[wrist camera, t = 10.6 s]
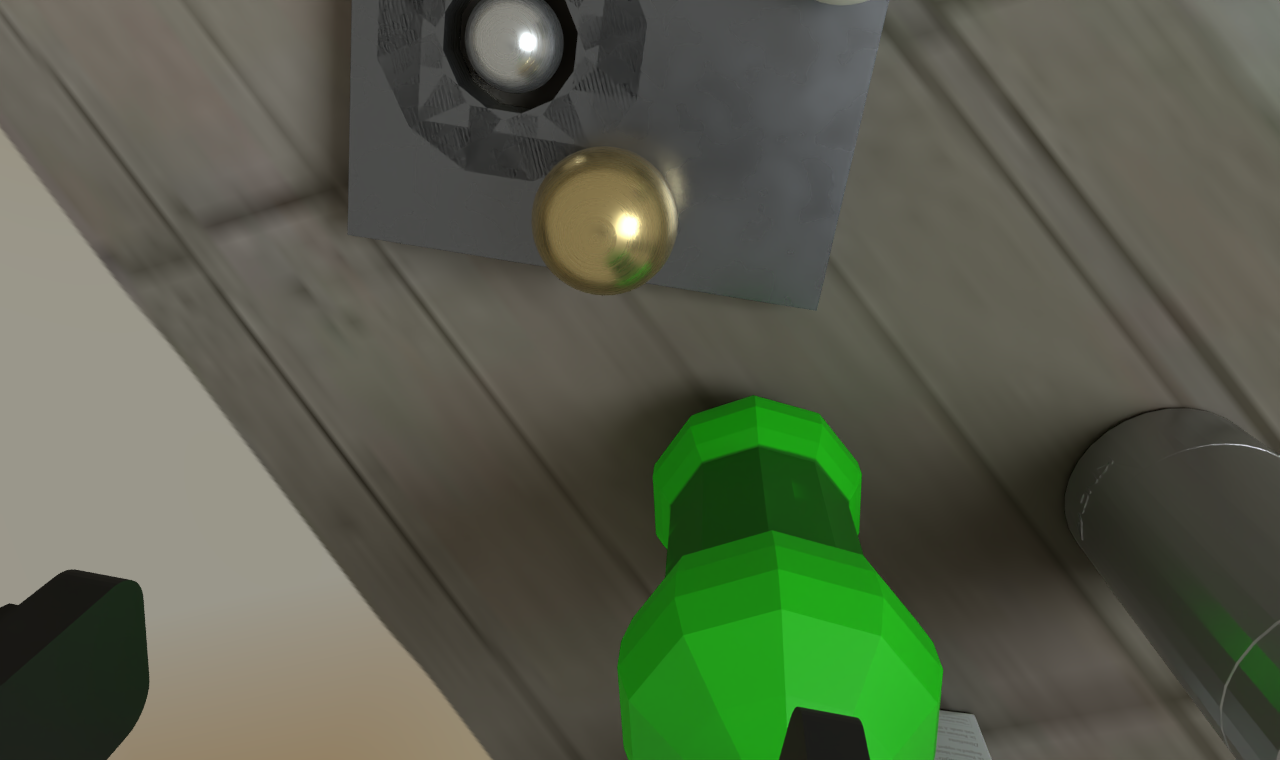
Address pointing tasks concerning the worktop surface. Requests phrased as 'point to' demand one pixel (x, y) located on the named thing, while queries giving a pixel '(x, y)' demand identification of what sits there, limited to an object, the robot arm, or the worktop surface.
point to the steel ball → (514, 43)
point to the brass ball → (604, 220)
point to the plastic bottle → (768, 600)
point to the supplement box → (959, 738)
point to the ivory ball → (842, 2)
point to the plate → (623, 131)
